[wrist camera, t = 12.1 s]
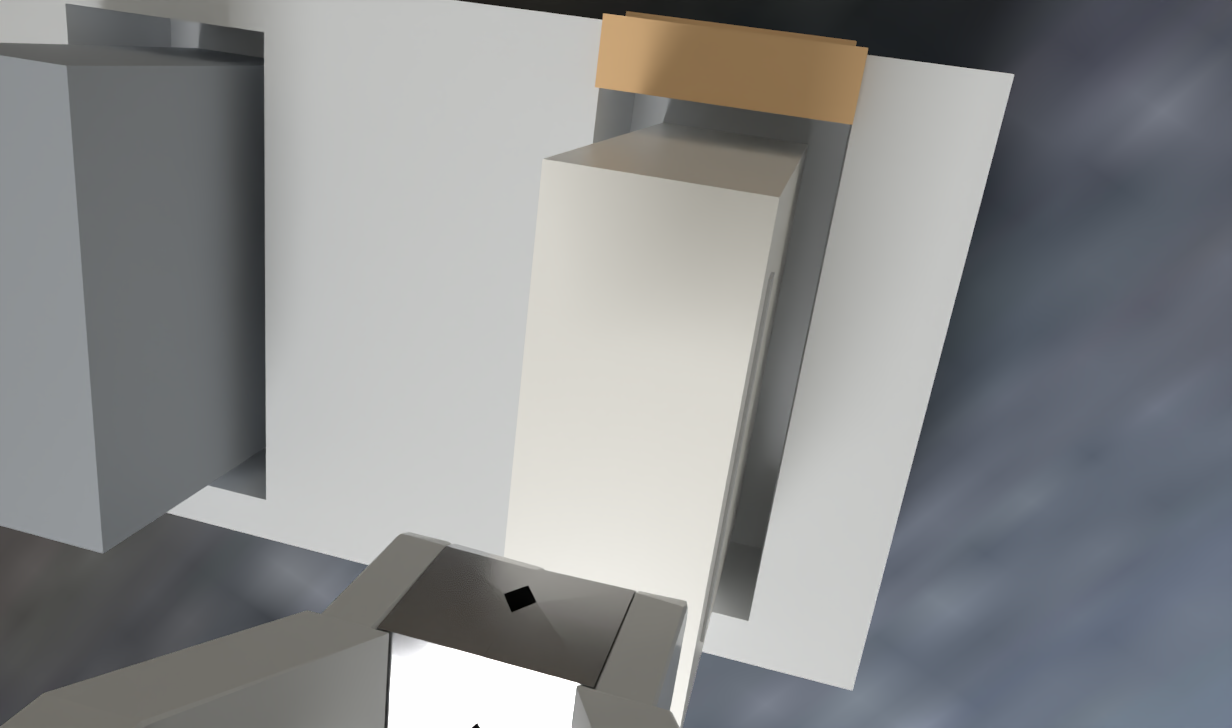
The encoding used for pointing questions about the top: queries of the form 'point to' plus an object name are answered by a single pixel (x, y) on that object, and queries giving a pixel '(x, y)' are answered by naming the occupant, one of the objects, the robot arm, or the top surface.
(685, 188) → the panel
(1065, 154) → the top surface
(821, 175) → the rack
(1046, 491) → the top surface
